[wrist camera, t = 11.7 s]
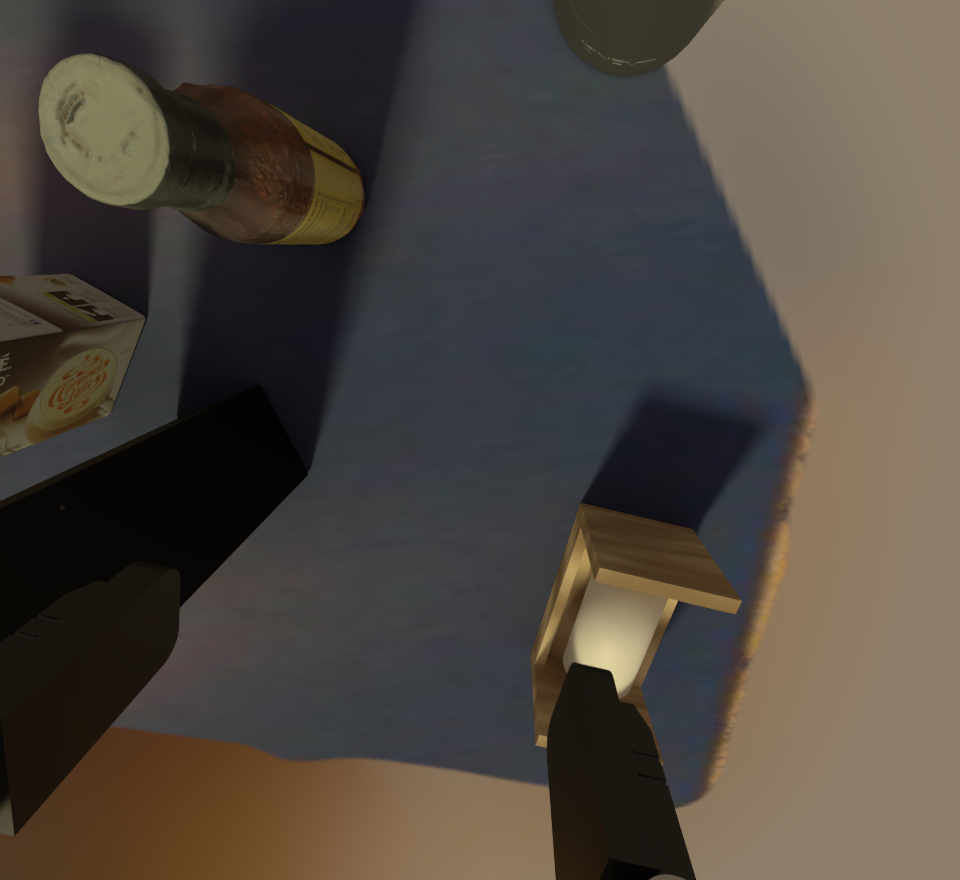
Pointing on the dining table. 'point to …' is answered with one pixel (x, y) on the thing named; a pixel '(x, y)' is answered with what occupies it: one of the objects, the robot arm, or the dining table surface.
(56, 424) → the coffee box
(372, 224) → the dining table surface
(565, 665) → the cylinder
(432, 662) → the dining table surface
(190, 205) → the sauce bottle
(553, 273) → the dining table surface
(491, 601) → the dining table surface
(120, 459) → the tissue box
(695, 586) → the holder
